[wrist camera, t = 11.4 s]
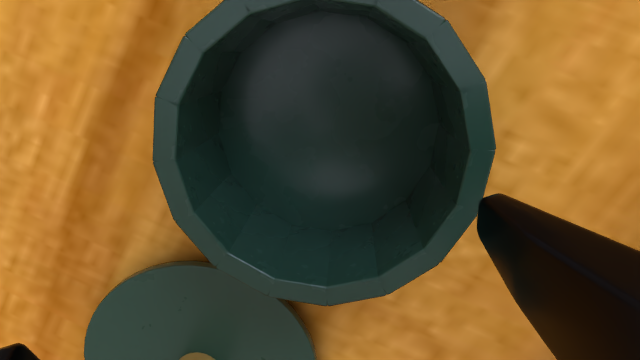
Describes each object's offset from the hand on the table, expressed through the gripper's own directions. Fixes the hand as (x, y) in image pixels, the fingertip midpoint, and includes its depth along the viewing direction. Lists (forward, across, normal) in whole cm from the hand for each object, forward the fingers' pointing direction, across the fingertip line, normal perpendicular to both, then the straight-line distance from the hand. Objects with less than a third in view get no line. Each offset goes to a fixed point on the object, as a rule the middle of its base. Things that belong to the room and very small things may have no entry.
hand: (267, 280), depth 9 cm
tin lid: (+8, +5, +14) cm, 17 cm away
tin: (+10, -4, +3) cm, 12 cm away
